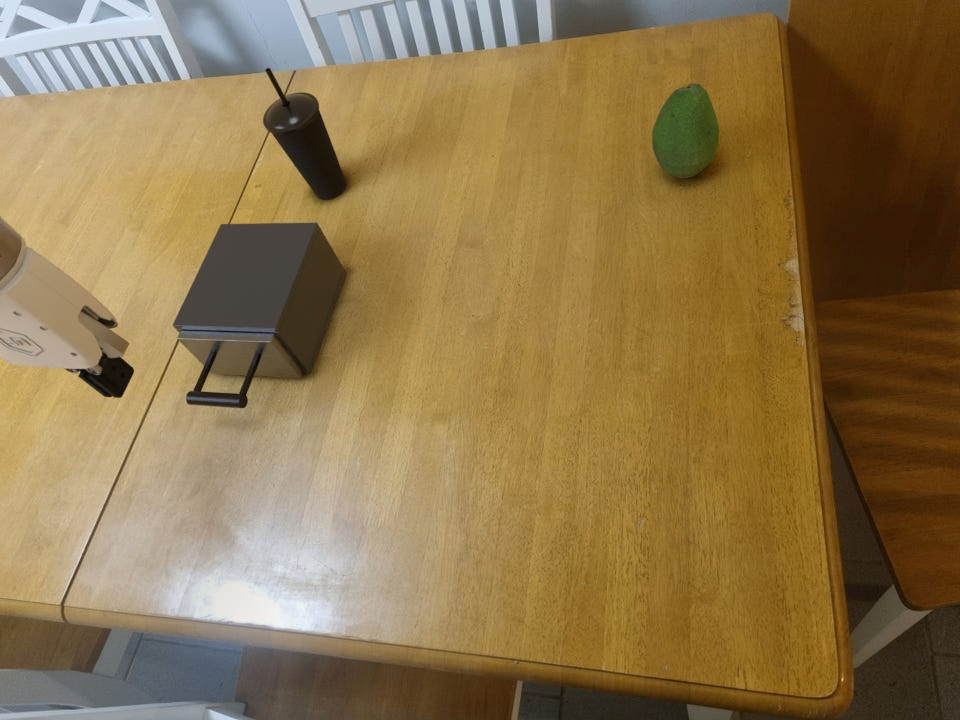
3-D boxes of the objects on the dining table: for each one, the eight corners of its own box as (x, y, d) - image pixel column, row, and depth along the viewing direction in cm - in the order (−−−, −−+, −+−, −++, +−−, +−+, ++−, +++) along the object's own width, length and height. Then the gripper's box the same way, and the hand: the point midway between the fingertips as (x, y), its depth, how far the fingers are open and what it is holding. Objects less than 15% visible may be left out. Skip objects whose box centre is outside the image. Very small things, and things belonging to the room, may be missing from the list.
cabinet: (311, 373, 88) (275, 328, 81) (214, 368, 92) (171, 325, 84) (346, 272, 96) (317, 222, 88) (256, 271, 100) (220, 223, 92)
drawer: (282, 429, 84) (249, 395, 78) (190, 422, 87) (152, 389, 81) (334, 281, 95) (310, 241, 88) (251, 281, 98) (221, 242, 92)
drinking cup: (323, 215, 103) (256, 98, 87) (296, 191, 107) (228, 75, 91) (365, 184, 105) (308, 63, 88) (338, 161, 109) (278, 42, 93)
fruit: (727, 153, 93) (733, 73, 83) (703, 197, 90) (706, 119, 80) (667, 141, 96) (666, 62, 86) (642, 183, 93) (638, 106, 83)
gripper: (-141, 296, 54) (38, 414, 69) (19, 299, 49) (172, 425, 64) (-82, 219, 57) (75, 347, 72) (70, 216, 53) (204, 353, 68)
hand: (120, 383), depth 68 cm, fingers closed
